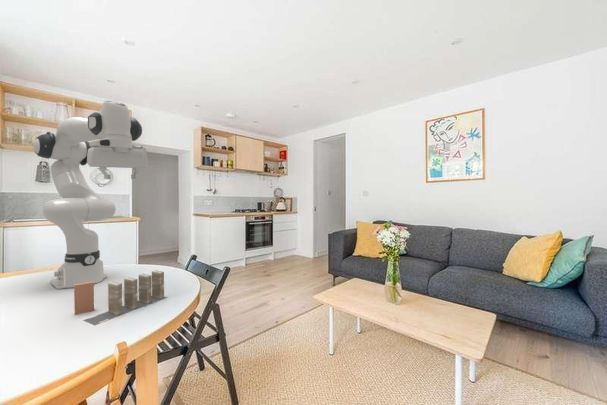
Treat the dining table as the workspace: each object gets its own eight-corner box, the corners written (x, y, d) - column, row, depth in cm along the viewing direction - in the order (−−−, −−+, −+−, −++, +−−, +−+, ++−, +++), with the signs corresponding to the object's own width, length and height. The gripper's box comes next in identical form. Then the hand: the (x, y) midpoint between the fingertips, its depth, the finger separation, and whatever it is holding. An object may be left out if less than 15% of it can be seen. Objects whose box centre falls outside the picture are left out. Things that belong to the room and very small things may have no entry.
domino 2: (132, 309, 88) (132, 280, 88) (124, 306, 90) (124, 278, 90) (137, 307, 89) (137, 279, 89) (129, 304, 92) (128, 277, 91)
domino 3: (147, 303, 92) (147, 276, 92) (138, 301, 95) (138, 274, 94) (151, 302, 94) (151, 275, 94) (143, 299, 96) (142, 273, 96)
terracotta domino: (74, 314, 85) (74, 284, 85) (94, 309, 88) (93, 281, 88) (74, 315, 84) (74, 285, 84) (94, 311, 87) (93, 282, 87)
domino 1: (117, 315, 83) (116, 285, 83) (108, 312, 86) (108, 282, 85) (122, 313, 85) (122, 283, 85) (113, 310, 87) (113, 281, 87)
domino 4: (160, 299, 97) (160, 272, 97) (151, 296, 99) (151, 271, 99) (164, 297, 98) (163, 271, 98) (155, 295, 101) (155, 270, 100)
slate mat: (82, 321, 80) (82, 319, 80) (155, 295, 102) (155, 294, 102) (94, 326, 77) (94, 324, 77) (167, 298, 99) (167, 297, 99)
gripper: (142, 147, 111) (144, 179, 112) (83, 141, 93) (86, 179, 95) (150, 146, 108) (152, 179, 109) (90, 140, 90) (94, 179, 92)
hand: (121, 179), depth 102 cm, fingers open, 8 cm apart
